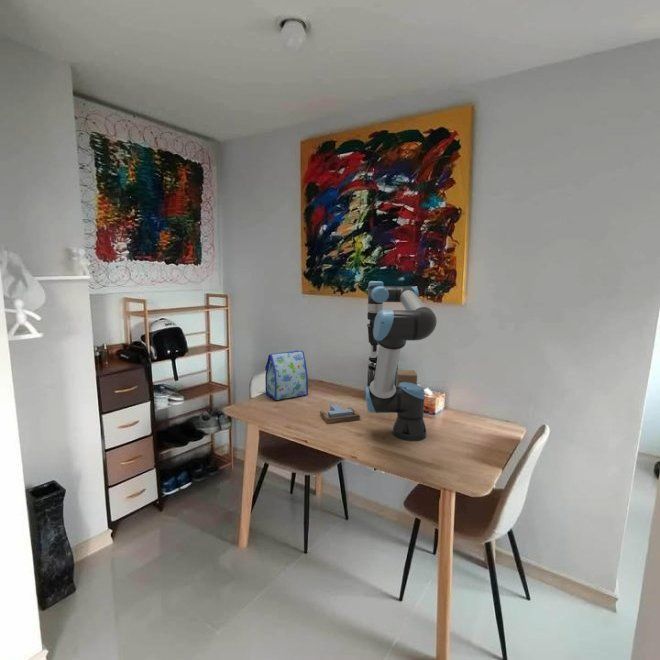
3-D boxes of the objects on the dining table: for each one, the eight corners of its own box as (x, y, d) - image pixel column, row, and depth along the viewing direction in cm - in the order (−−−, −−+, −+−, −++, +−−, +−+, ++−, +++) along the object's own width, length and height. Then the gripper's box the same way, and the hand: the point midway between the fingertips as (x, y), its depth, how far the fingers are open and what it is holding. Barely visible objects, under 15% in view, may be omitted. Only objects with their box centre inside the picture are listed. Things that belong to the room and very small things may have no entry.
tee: (352, 418, 195) (353, 411, 195) (330, 420, 191) (330, 414, 191) (344, 409, 206) (344, 403, 206) (323, 412, 203) (323, 405, 202)
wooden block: (413, 405, 215) (415, 370, 212) (415, 411, 205) (417, 375, 202) (395, 404, 216) (396, 369, 213) (396, 410, 206) (398, 374, 203)
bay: (359, 420, 193) (359, 415, 192) (327, 424, 187) (327, 419, 187) (350, 411, 204) (351, 407, 203) (320, 415, 198) (320, 410, 198)
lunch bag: (295, 388, 241) (295, 347, 237) (309, 395, 228) (310, 352, 224) (263, 394, 229) (262, 351, 225) (275, 402, 216) (275, 357, 211)
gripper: (387, 313, 191) (385, 359, 194) (376, 310, 203) (374, 354, 207) (373, 313, 188) (372, 360, 192) (362, 310, 200) (361, 355, 204)
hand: (373, 357), depth 199 cm, fingers closed
